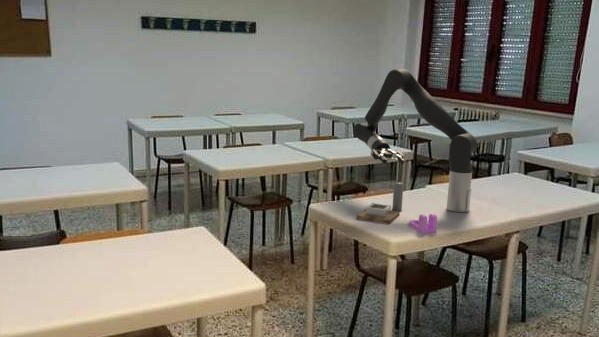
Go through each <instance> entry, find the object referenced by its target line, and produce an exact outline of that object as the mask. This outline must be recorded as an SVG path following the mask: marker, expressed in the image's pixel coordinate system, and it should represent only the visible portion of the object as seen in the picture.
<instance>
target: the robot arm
mask: <svg viewBox="0 0 599 337" xmlns="http://www.w3.org/2000/svg"><path fill="white" fill-rule="evenodd" d="M398 90H401V91H403V92H404V93H405V94H406V95H408V96H409V97H410V99H411V100H412V103H413V104H414V107H415V109H416V111H417V113H418V114H419V115H420V117H421V118H422V119H423V120H424V121H425V122H427V123H428V124H429V125H430V126H432V127H433V128H434V129H437V130H439V131H440V132H441V133H443V134H444V135H446V136H447V137H448V139H450V144H449V153H448V154H449V155H448V164H449V165H448V166H449V175H448V176H449V177H448V188H447V200H446V209H447V210H449V211H452V212H456V213H468V212H469V210H470V208H471V207H470V204H471V197H472V195H471V194H472V178H473V177H472V176H473V165H472V164H471V154H473V153H474V152H476V150H477V149H478V142H477V139H476V137H475V136H474V135H473V134H472V133H471V132H469V131H468V130H467V129H465V128H464V127H463V126H462V125H460V124H459V123H458V122H457V120H455V119H454V118H453V117H452V116H451V114H450V113H449V111H447V110H446V109H445V108H444V107H443V105H442V104H440V102H438V101H437V100H436V99H435V98H434V97H433V96H432V95H431V94H430V93H429V92H428V91H427V90H426V89H424V87H422V86H421V84H420V83H419V82H418V80H416V78H415V77H414V75H413V74H412V73H411V72H410V71H409V70H408V69H406V68H395V69H392V70H390V71H389V72H388V73H387V75H386V77H385V79H384V81H383V83H382V85H381V87H380V91H379V92H378V94H377V97H376V98H375V100H374V101H373V103H372V105H371V106H370V108H369V109H368V111H367V113H366V114H365V116H364V119H365V121H366V122H367V123H368V124H367V123H363V122H357V123H355V124H354V126H353V129H352V133H353V135H354V137H356V138H357V139H358V140H360V141H361V142H362V143H365V145H366V146H367V147H368V149H370V156H372V158H373V159H374V161H375V160H378V161H380V162H381V163H383V164H384V165H386V164H387V162H388V159H390V160H392V161H397V162H398V163H399V164H400V165H401V166H402V165H404V164H405V159H404V157H405V155H404V154H403V152H401V151H400V150H398V149H395V151H394V150H393V149H391V146H390V143H388V142H387V141H385V139H384V138H382V137H381V136H380V135H379V134H378V133H376V130H377V127H378V124H379V122H380V121H381V120H382V118H383V117H384V114H385V113H386V111H387V108H388V105H389V103H390V100H391V98H392V97H393V96H394V94H395V93H396V92H397V91H398Z"/></svg>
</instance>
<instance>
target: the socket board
mask: <svg viewBox="0 0 599 337" xmlns="http://www.w3.org/2000/svg"><path fill="white" fill-rule="evenodd" d="M391 209H392V205H391V204H390V205H388V204H382V203H376V202H371V203H370V204H369V205H368V206H366V207H365V208H364V209H363V210H362V211H360V212H358V213H357V214H356V216H355V217H356V218H355V219H357V220H361V221H367V222H372V223H378V224H379V223H380V224H387V225H390V224H392V223H393V222H394V221H395V220H396V219H397V218H398V217H399V216H400V212H397V211H393V210H391Z"/></svg>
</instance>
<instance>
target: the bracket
mask: <svg viewBox="0 0 599 337" xmlns="http://www.w3.org/2000/svg"><path fill="white" fill-rule="evenodd" d="M437 224H438V216H437V214H435V213H429V215H428V217H427V215H426V214H425V213H424V214H419V215H418V219H410V220H409V221H408V225H409V226H410V227H412V228H413V229H415V230H417V231H418V232H419V233H421V234H424V235H425V234H434V233H437V226H438V225H437Z"/></svg>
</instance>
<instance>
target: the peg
mask: <svg viewBox="0 0 599 337" xmlns="http://www.w3.org/2000/svg"><path fill="white" fill-rule="evenodd" d="M392 191H393V192H392V205H391V209H392V210H391V211H397V212H399V213H400V212H402V210H403V198H404V197H403V192H404V182H399V181H395V182H393V190H392Z"/></svg>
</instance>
